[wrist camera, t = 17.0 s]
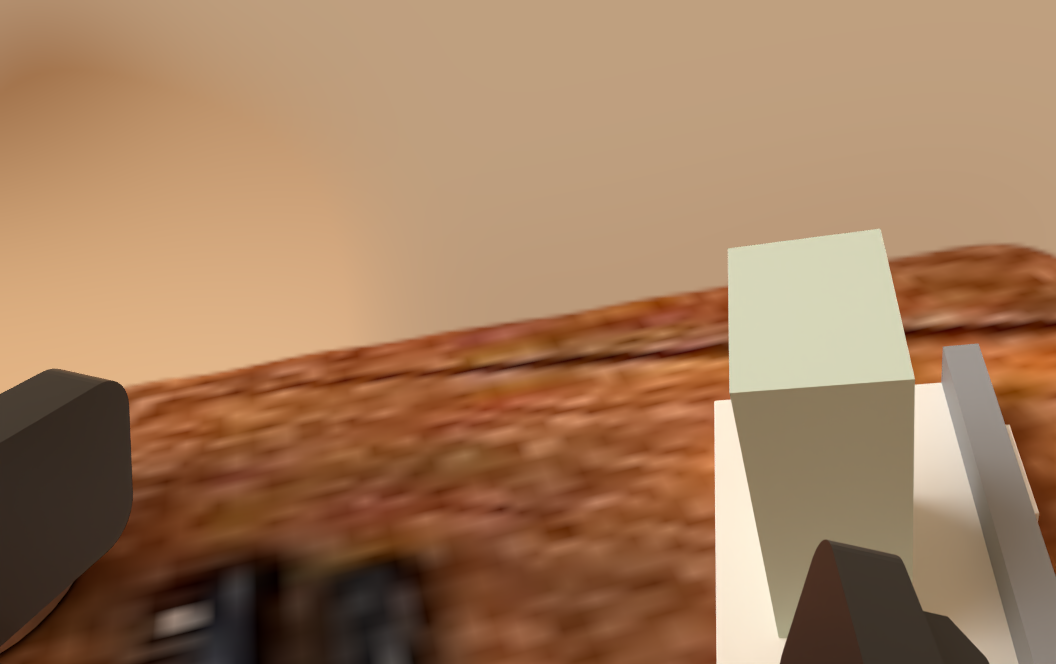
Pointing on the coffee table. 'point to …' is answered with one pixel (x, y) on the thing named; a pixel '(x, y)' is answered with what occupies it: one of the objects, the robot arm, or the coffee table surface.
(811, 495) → the tea box
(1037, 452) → the coffee table surface
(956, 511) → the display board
